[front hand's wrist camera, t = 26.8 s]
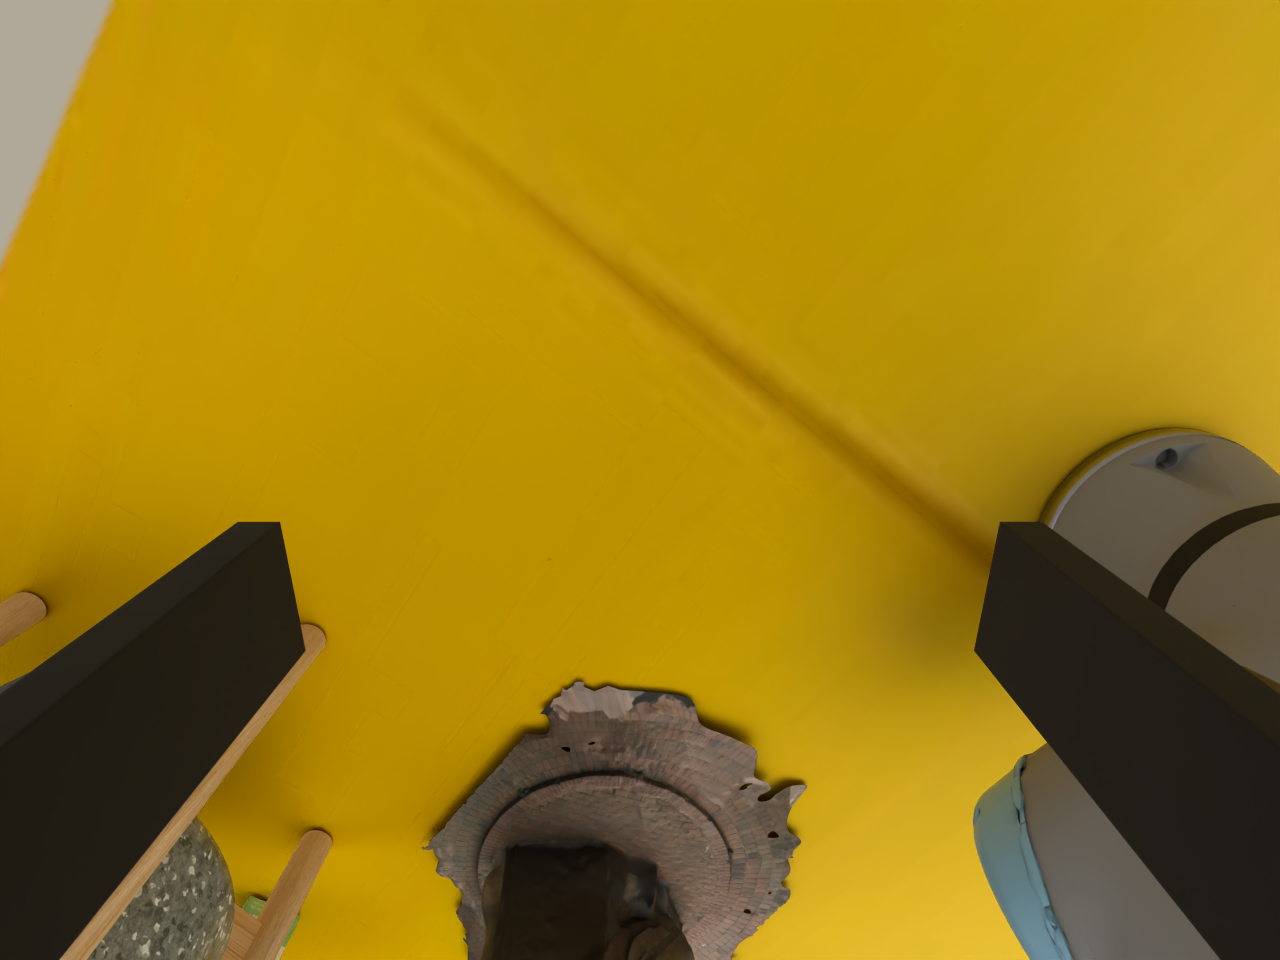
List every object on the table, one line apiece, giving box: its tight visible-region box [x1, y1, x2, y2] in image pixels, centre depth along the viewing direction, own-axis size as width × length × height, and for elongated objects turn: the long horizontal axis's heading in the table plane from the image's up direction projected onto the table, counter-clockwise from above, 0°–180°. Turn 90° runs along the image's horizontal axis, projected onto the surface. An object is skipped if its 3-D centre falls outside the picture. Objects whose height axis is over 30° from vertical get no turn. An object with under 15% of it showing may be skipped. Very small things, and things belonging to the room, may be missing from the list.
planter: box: [0, 592, 332, 960], centre depth 37 cm, size 22×22×32 cm
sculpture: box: [422, 682, 807, 960], centre depth 50 cm, size 33×35×16 cm
